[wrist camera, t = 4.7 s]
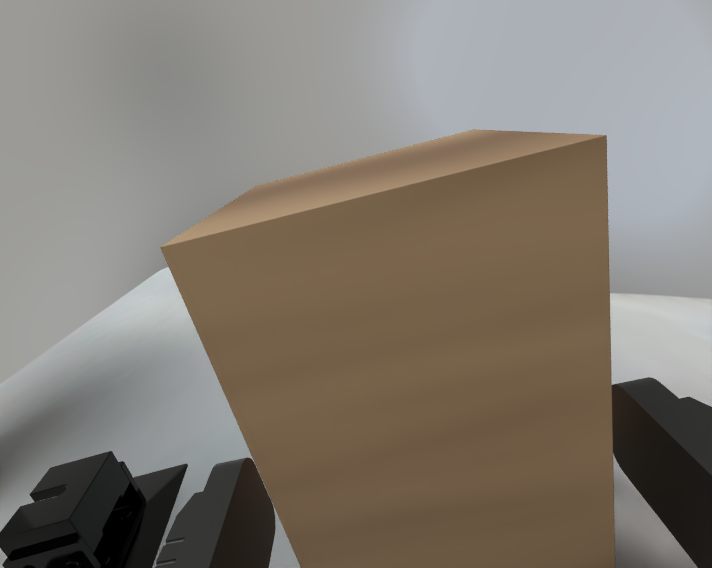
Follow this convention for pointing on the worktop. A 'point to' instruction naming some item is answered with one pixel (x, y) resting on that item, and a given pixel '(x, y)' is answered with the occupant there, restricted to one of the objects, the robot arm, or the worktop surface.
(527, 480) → the walnut block
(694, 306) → the worktop surface
